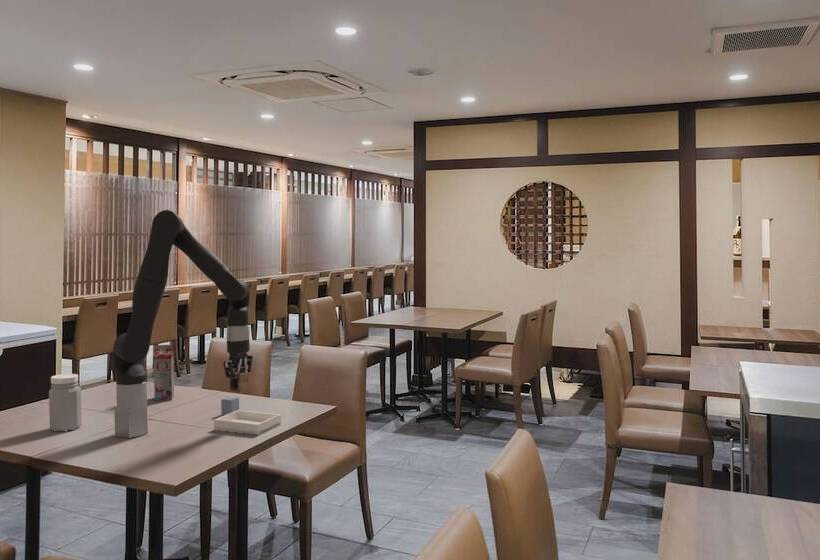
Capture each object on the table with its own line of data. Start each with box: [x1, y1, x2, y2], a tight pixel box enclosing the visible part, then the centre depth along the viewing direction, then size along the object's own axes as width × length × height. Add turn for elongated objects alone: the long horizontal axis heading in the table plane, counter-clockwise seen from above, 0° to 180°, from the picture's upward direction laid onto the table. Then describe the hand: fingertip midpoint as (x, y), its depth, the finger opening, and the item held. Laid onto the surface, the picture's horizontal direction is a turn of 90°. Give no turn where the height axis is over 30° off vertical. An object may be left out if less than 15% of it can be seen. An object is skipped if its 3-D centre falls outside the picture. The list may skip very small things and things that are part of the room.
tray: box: [213, 409, 282, 436], centre depth 218 cm, size 14×18×4 cm
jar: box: [48, 373, 83, 432], centre depth 216 cm, size 10×10×18 cm
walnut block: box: [228, 372, 249, 393], centre depth 219 cm, size 4×4×6 cm
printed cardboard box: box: [153, 344, 175, 402], centre depth 259 cm, size 7×7×22 cm
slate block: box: [220, 396, 240, 416], centre depth 235 cm, size 4×4×6 cm
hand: (238, 387), depth 219 cm, fingers closed on walnut block, 4 cm apart
